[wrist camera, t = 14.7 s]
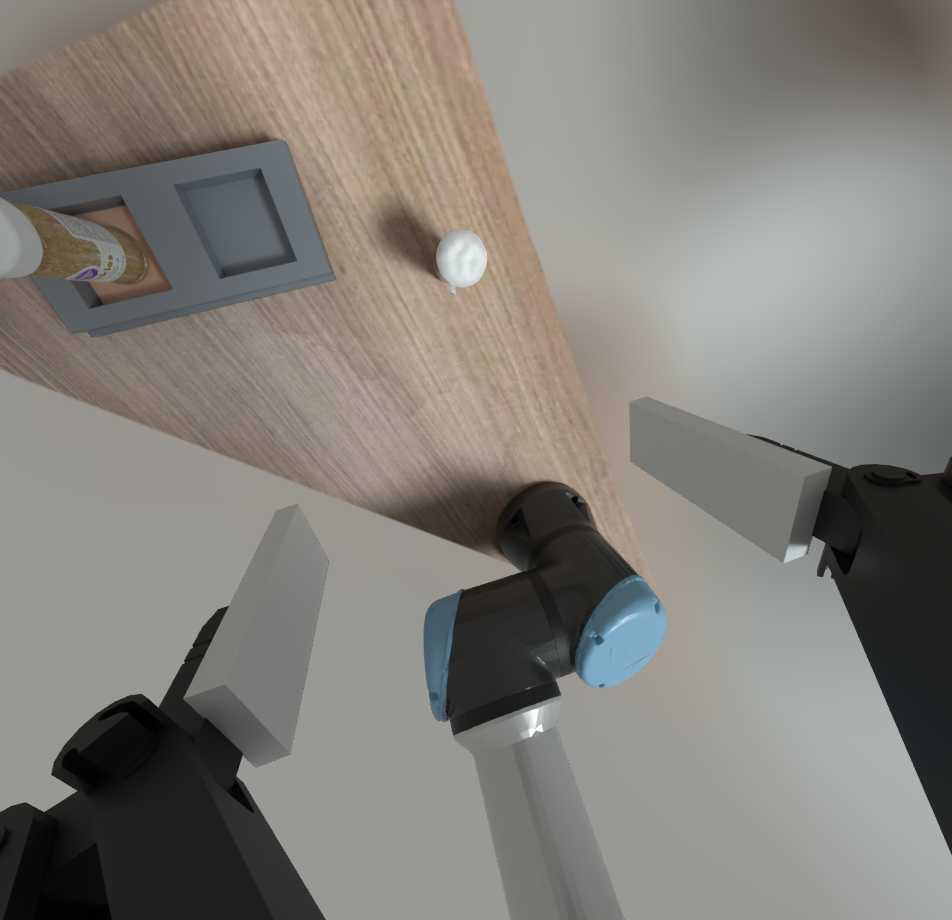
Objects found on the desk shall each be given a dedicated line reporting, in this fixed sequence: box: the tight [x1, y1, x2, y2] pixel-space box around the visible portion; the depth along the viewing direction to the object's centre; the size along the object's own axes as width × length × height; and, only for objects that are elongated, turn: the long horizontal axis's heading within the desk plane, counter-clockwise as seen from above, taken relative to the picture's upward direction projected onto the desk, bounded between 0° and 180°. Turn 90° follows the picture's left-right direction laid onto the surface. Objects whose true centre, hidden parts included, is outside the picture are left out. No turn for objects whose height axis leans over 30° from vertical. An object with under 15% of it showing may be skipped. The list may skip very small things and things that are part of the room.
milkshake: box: [433, 229, 487, 295], centre depth 34 cm, size 4×5×10 cm
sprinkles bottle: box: [0, 197, 149, 285], centre depth 25 cm, size 5×5×14 cm
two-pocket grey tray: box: [0, 139, 336, 337], centre depth 32 cm, size 11×23×3 cm, turn 103°
